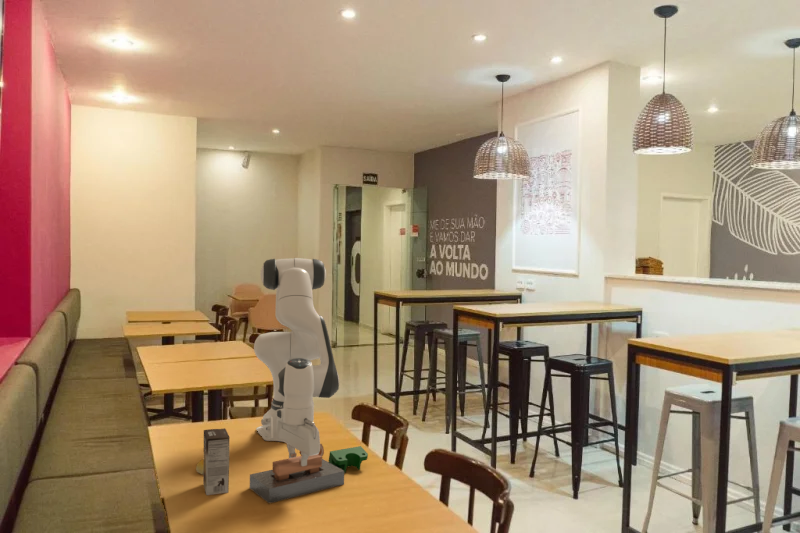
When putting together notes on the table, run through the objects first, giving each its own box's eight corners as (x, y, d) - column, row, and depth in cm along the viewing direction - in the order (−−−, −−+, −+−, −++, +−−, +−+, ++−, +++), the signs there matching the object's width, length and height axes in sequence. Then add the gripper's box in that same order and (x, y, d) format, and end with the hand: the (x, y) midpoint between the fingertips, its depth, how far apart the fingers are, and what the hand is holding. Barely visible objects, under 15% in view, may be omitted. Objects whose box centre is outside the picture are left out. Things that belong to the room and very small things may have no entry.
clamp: (339, 486, 189) (332, 464, 185) (332, 475, 194) (324, 454, 190) (372, 466, 194) (366, 445, 190) (364, 456, 198) (357, 435, 195)
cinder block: (249, 488, 174) (249, 474, 174) (321, 471, 189) (322, 458, 189) (269, 503, 164) (269, 488, 164) (344, 484, 179) (344, 470, 179)
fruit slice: (306, 466, 193) (307, 451, 193) (294, 461, 198) (294, 446, 198) (327, 460, 199) (327, 445, 199) (315, 455, 204) (315, 440, 204)
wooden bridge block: (272, 489, 174) (272, 461, 174) (314, 479, 182) (315, 452, 182) (278, 493, 171) (278, 465, 171) (321, 483, 179) (321, 456, 179)
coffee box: (202, 484, 177) (203, 429, 176) (225, 481, 179) (225, 427, 179) (205, 495, 168) (206, 438, 168) (229, 492, 171) (230, 436, 171)
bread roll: (198, 467, 191) (198, 454, 191) (227, 466, 193) (227, 453, 193) (193, 476, 183) (194, 463, 183) (224, 475, 185) (224, 462, 185)
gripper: (326, 421, 170) (325, 470, 170) (292, 406, 186) (291, 450, 186) (306, 425, 166) (305, 475, 166) (273, 409, 182) (272, 454, 182)
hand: (297, 462), depth 176 cm, fingers open, 5 cm apart
